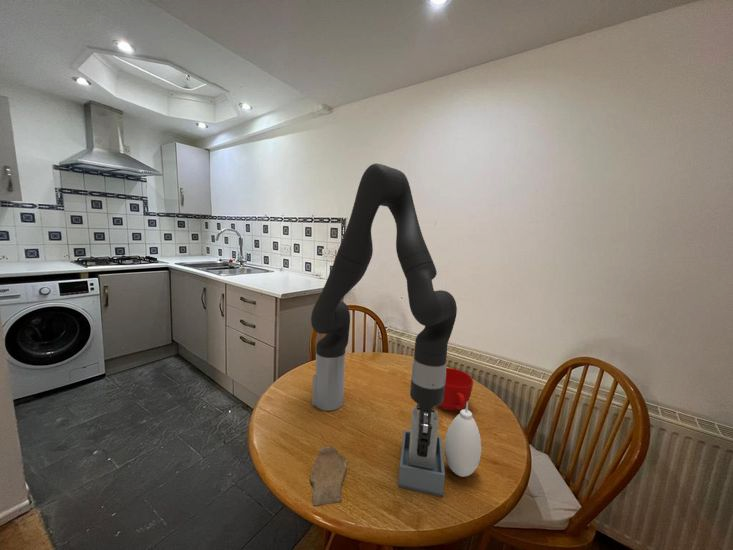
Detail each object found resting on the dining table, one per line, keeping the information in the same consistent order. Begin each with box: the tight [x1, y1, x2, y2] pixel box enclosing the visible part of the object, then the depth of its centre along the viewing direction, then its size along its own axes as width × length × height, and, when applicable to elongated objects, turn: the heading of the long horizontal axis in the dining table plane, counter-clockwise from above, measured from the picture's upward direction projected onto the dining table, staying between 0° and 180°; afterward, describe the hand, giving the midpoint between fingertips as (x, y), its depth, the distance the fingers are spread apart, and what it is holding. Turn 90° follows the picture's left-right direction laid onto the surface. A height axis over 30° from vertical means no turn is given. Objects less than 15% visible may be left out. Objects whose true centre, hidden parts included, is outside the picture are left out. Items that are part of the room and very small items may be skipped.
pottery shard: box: [309, 445, 348, 507], centre depth 64 cm, size 8×3×15 cm
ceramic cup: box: [439, 367, 474, 412], centre depth 90 cm, size 13×17×10 cm
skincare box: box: [408, 406, 440, 470], centre depth 65 cm, size 6×4×12 cm
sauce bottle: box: [443, 400, 482, 478], centre depth 65 cm, size 8×8×18 cm
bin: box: [397, 429, 446, 498], centre depth 66 cm, size 10×12×5 cm
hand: (422, 447), depth 66 cm, fingers open, 4 cm apart
